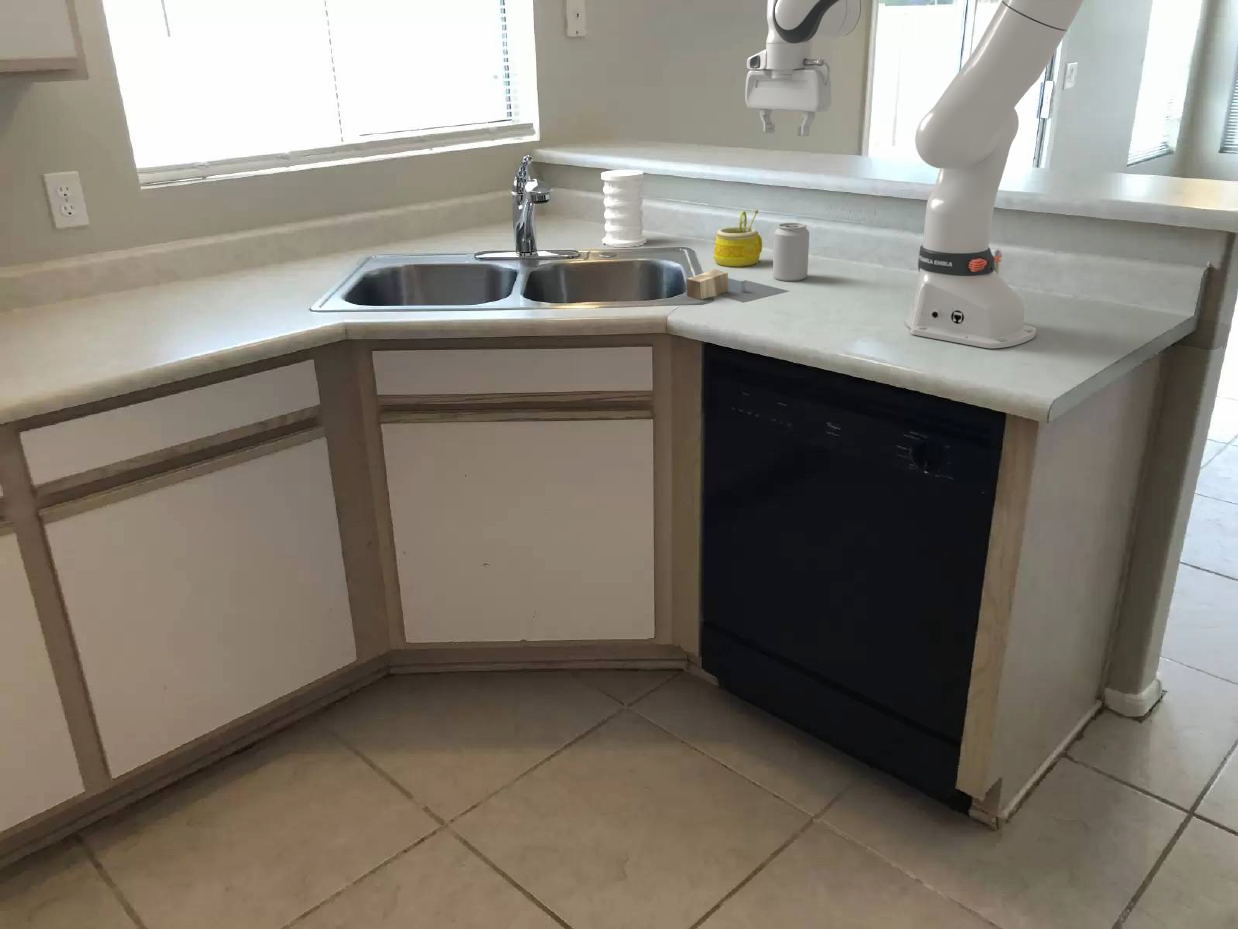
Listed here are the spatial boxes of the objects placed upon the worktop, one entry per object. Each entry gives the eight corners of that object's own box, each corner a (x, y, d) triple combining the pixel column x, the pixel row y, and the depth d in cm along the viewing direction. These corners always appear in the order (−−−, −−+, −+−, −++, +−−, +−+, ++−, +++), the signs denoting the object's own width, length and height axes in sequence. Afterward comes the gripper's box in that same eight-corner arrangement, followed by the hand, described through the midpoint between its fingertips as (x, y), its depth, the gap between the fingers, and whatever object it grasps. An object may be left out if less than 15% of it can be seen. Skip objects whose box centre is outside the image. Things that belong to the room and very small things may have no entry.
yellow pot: (732, 271, 215) (733, 218, 210) (704, 263, 224) (704, 212, 219) (776, 263, 221) (778, 211, 216) (747, 256, 230) (748, 205, 225)
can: (805, 275, 210) (808, 220, 205) (808, 283, 203) (811, 227, 198) (771, 275, 211) (773, 221, 206) (773, 283, 204) (775, 227, 199)
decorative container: (630, 237, 256) (628, 168, 248) (654, 243, 247) (653, 172, 240) (594, 242, 250) (591, 172, 243) (617, 249, 241) (615, 177, 234)
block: (727, 272, 195) (698, 282, 191) (728, 290, 197) (699, 301, 193) (714, 269, 198) (685, 278, 194) (715, 287, 200) (687, 297, 196)
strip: (745, 291, 197) (745, 280, 196) (740, 292, 197) (741, 281, 196) (719, 284, 203) (719, 273, 202) (715, 285, 202) (715, 274, 201)
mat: (789, 292, 197) (789, 290, 196) (743, 304, 190) (743, 302, 190) (742, 281, 207) (742, 279, 207) (698, 291, 200) (698, 289, 200)
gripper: (841, 58, 176) (836, 136, 181) (763, 58, 191) (761, 130, 196) (817, 59, 172) (813, 139, 178) (740, 59, 187) (739, 132, 193)
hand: (785, 134), depth 187 cm, fingers open, 8 cm apart
